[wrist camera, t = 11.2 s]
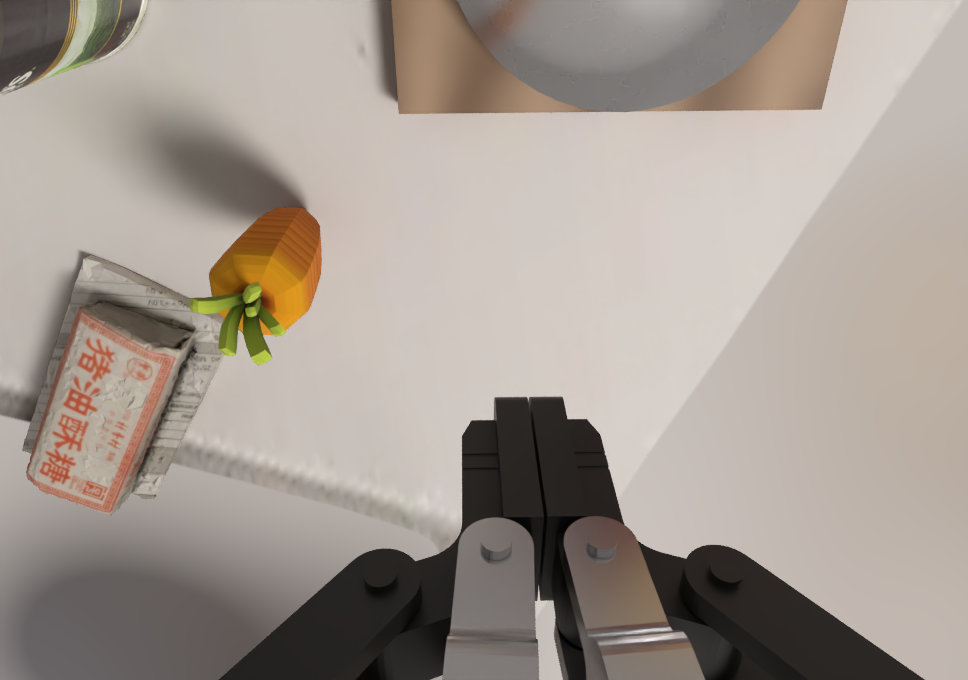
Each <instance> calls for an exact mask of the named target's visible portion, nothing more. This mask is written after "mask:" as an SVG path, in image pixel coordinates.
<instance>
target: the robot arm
mask: <svg viewBox="0 0 968 680" xmlns="http://www.w3.org/2000/svg"><path fill="white" fill-rule="evenodd" d="M538 585H539V591H540V600H541V601H544V600H553V601H554V608H555V616H556V619H555V629H554V638H555V643H556V648H557V653H558V658H559V663H560V667H561V672H562V677H563V680H924V679H923V678H921V677H920V676H919V675H917V674H916V673H914V672H913V671H911V670H909V669H908V668H907V667H906V666H904V665H903V664H901V663H900V662H898V661H897V660H896V659H894V658H893V657H891V656H890V655H888V654H887V653H886V652H884V651H883V650H881V649H880V648H878V647H877V646H876V645H874V644H873V643H871V642H870V641H868V640H867V639H865V638H864V637H863V636H861V635H860V634H858V633H857V632H855V631H854V630H853V629H851V628H850V627H848V626H847V625H845V624H844V623H842V622H841V621H839V620H838V619H837V618H835V617H834V616H833V615H831V614H830V613H828V612H827V611H825V610H824V609H822V608H821V607H820V606H818V605H817V604H815V603H814V602H812V601H811V600H810V599H808V598H807V597H805V596H804V595H802V594H801V593H799V592H798V591H797V590H795V589H794V588H792V587H791V586H789V585H788V584H787V583H785V582H784V581H782V580H781V579H779V578H778V577H776V576H775V575H774V574H772V573H771V572H769V571H768V570H767V569H765V568H764V567H762V566H761V565H759V564H758V563H756V562H755V561H754V560H752V559H751V558H749V557H748V556H746V555H745V554H743V553H741V552H739V551H737V550H735V549H732V548H730V547H726V546H721V545H706V546H702V547H699V548H697V549H695V550H694V551H692V552H691V553H690V554H689V555H688V557H687V559H684V558H681V557H677V556H672V555H669V554H665V553H661V552H658V551H655V550H653V549H650V548H648V547H646V546H644V545H643V544H641V543H640V542H639V541H637V539H636V537H635V535H634V534H633V533H632V531H631V530H630V529H629V528H627V527H626V526H625V525H624V522H623V519H622V516H621V512H620V508H619V504H618V500H617V497H616V493H615V489H614V485H613V482H612V478H611V474H610V470H609V469H608V463H607V459H606V455H605V451H604V447H603V444H602V440H601V436H600V434H599V433H598V432H597V430H596V429H595V428H594V427H593V426H592V425H591V424H590V423H589V421H588V420H587V419H567V415H566V410H565V405H564V400H563V397H529V402H528V398H527V397H495V399H494V420H476V421H471V422H470V424H469V426H468V427H467V429H466V431H465V432H464V434H463V435H462V529H461V532H460V534H459V536H458V538H457V539H456V541H455V542H454V543H453V544H452V545H451V546H450V547H449V548H447V549H446V550H445V551H443V552H441V553H439V554H437V555H434V556H432V557H429V558H425V559H422V560H419V561H414V560H413V559H412V558H411V557H410V556H409V555H407V554H405V553H404V552H401V551H398V550H394V549H376V550H373V551H369V552H366V553H364V554H362V555H360V556H359V557H357V558H356V559H355V560H353V561H352V562H351V563H350V564H349V565H348V566H346V567H345V568H344V569H343V570H342V571H341V572H340V573H339V574H337V575H336V576H335V577H334V578H333V579H332V580H331V581H330V582H328V583H327V584H326V585H325V586H324V587H323V588H322V589H320V590H319V591H318V592H317V593H316V594H315V595H314V596H313V597H311V598H310V599H309V600H308V601H307V602H306V603H305V604H304V605H302V606H301V607H300V608H299V609H298V610H297V611H296V612H295V613H293V614H292V615H291V616H290V617H289V618H288V619H287V620H286V621H284V622H283V623H282V624H281V625H280V626H279V627H278V628H277V629H276V630H274V631H273V632H272V633H271V634H270V635H269V636H267V637H266V638H265V639H264V640H263V641H262V642H261V643H260V644H258V645H257V646H256V647H255V648H254V649H253V650H252V651H251V652H249V653H248V654H247V655H246V656H245V657H244V658H243V659H242V660H240V661H239V662H238V663H237V664H236V665H235V666H234V667H233V668H232V669H230V670H229V671H228V672H227V673H226V674H225V675H224V676H222V677H221V678H220V679H219V680H430V679H433V678H435V677H438V676H441V675H443V678H442V680H539V660H538V640H537V639H536V630H535V601H537V597H538Z"/></svg>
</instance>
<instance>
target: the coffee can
mask: <svg viewBox="0 0 968 680" xmlns="http://www.w3.org/2000/svg"><path fill="white" fill-rule="evenodd" d="M147 1H148V0H0V96H1V95H4V94H6V93H9V92H12V91H14V90H17V89H19V88H22V87H24V86H27V85H30V84H32V83H35V82H38V81H41V80H43V79H46V78H49V77H51V76H54V75H57V74H59V73H62V72H65V71H68V70H70V69H73V68H76V67H79V66H81V65H84V64H89V63H93V62H97V61H100V60H103V59H105V58H107V57H109V56H111V55H113V54H115V53H116V52H118V51H119V50H120V49H122V48H123V47H124V46H125V45H126V44H127V43H128V42H129V41H130V40H131V38H132V37H133V36H134V35H135V34H136V32H137V30H138V28H139V26H140V24H141V22H142V20H143V17H144V14H145V11H146V6H147Z"/></svg>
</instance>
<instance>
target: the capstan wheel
mask: <svg viewBox="0 0 968 680" xmlns="http://www.w3.org/2000/svg"><path fill="white" fill-rule="evenodd" d="M457 1H458V3H459V5H460V7H461V9H462V11H463V13H464V15H465V17H466V19H467V21H468V23H469V24H470V26H471V27H472V29H473V30H474V32H475V33H476V35H477V36H478V38H479V39H480V41H481V42H482V43H483V45H484V46H485V47H486V48H487V49H488V50H489V52H490V53H491V54H492V55H493V56H494V57H495V58H496V59H497V61H498V62H499V63H500V64H501V65H502V66H504V67H505V68H506V69H507V70H508V71H509V72H511V73H512V74H513V75H514V76H515V77H516V78H518V79H519V80H521V81H522V82H524V83H525V84H527V85H528V86H530V87H531V88H533V89H534V90H536V91H538V92H540V93H542V94H544V95H546V96H548V97H550V98H553V99H555V100H557V101H559V102H562V103H566V104H569V105H572V106H576V107H579V108H584V109H590V110H596V111H603V112H630V111H639V110H648V109H652V108H656V107H660V106H665V105H669V104H672V103H675V102H678V101H680V100H683V99H685V98H688V97H691V96H693V95H696V94H697V93H699V92H701V91H703V90H705V89H707V88H709V87H711V86H713V85H714V84H716V83H718V82H720V81H721V80H722V79H724V78H725V77H727V76H728V75H730V74H731V73H733V72H734V71H736V70H737V69H738V68H740V67H741V66H742V65H743V64H744V63H745V62H747V61H748V60H749V59H750V58H751V57H752V56H754V55H755V54H756V53H757V52H758V51H759V50H760V49H761V48H762V47H763V46H764V45H765V44H766V43H767V42H768V41H769V40H770V39H771V37H772V36H773V35H774V34H775V33H776V32H777V31H778V30H779V29H780V27H781V26H782V25H783V23H784V22H785V21H786V19H787V18H788V17H789V15H790V14H791V13H792V11H793V10H794V9H795V7H796V6H797V4H798V3H799V1H800V0H457Z"/></svg>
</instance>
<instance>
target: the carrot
mask: <svg viewBox="0 0 968 680" xmlns="http://www.w3.org/2000/svg"><path fill="white" fill-rule="evenodd" d="M321 261H322V259H321V238H320V226H319V224H318V222H317V220H316V219H315V218H314V217H313V216H312V215H310V214H309V213H308V212H307V211H306V210H305V209H304V208H290V207H284V208H276V209H274V210H272V211H270V212H268V213H266V214H265V215H263V216H262V217H260V218H258V219H257V220H256V221H255V222H254V223H253V224H252V225H251V226H250V227H249V228H248V229H247V230H246V231H245V232H244V233H243V234H242V235H241V236H240V237H239V238H238V239H237V240H236V241H235V242H234V243H233V244H232V246H231V247H230V248H229V249H228V250H227V251H226V252H225V253H224V254H223V255H222V257H221V258H220V259H219V260H218V261H217V263H216V264H215V265H214V266H213V267H212V269H211V271H210V273H209V280H210V286H211V292H212V297H207V298H190V302H189V306H190V310H191V311H193V312H195V313H201V314H212V313H218V314H220V315H221V316H222V317H223V318H225V319H224V321H223V323H222V325H221V329H220V335H219V344H218V350H220V351H221V352H222V353H223V354H225V355H228V356H234V355H235V354H236V349H237V335H238V330H240V331H241V332H242V333H243V335H244V338H245V342H246V346H247V349H248V351H249V354H250V356H251V358H252V360H253V361H254V363H256V364H258V365H260V364H264V363H266V362H268V361H269V360H270V359H271V358H272V356H271V353H270V351H269V348H268V346H267V344H266V342H265V340H264V338H263V335H274V336H275V337H277V336H282V335H283V334H284V333H285V331H286V330H287V329H288V328H289V327H291V326H292V325H293V324H294V323H295V322H296V321H297V320H298V319H300V318H301V317H302V316H303V315H304V314H305V313H306V312H307V311H308V310H309V308H310V306H311V303H312V301H313V298H314V295H315V292H316V289H317V286H318V282H319V279H320V275H321Z"/></svg>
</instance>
